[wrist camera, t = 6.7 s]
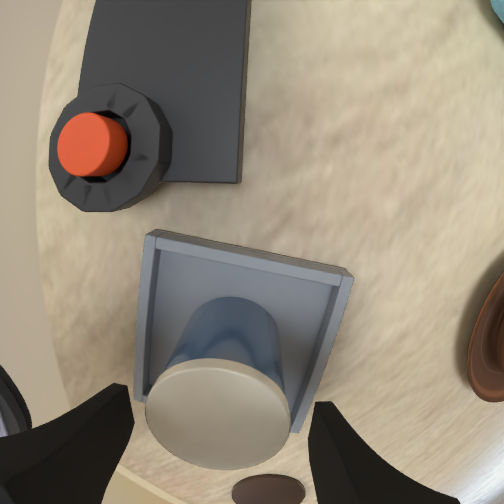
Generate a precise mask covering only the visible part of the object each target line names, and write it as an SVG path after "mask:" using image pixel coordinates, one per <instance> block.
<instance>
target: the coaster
mask: <svg viewBox="0 0 504 504" xmlns="http://www.w3.org/2000/svg"><path fill="white" fill-rule="evenodd" d="M304 497H305V489H304V486H303V485H302V484H301V483H300V482H299V481H297V480H295V479H293V478H290V477H287V476H282V475H258V476H253V477H249V478H246V479H244V480H242V481H240V482H238V483H237V484H236V485H235V486H234V487H233V490H232V499H233V501H234V502H235V503H236V504H300V503H301V502H302V501H303V499H304Z"/></svg>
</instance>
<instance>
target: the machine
mask: <svg viewBox="0 0 504 504" xmlns="http://www.w3.org/2000/svg"><path fill="white" fill-rule="evenodd" d="M250 14H251V0H96V2H95V6H94V10H93V14H92V18H91V22H90V26H89V31H88V36H87V40H86V45H85V51H84V56H83V62H82V68H81V74H80V81H79V88H78V96H77V97H76V98H75V99H74V100H72V101H71V102H70V103H69V104H67V105H66V107H65V108H64V109H63V111H62V113H61V115H60V117H59V119H58V121H57V123H56V125H55V127H54V129H53V131H52V133H51V136H50V145H49V170H50V172H51V175H52V177H53V180H54V182H55V184H56V187H57V189H58V191H59V193H60V194H61V196H62V197H63V198H65V199H66V200H67V201H69V202H70V203H72V204H73V205H74V206H76V207H77V208H79V209H80V210H81V211H84V212H114V211H118V210H122V209H126V208H130V207H131V206H133V205H135V204H136V203H138V202H139V201H141V200H143V199H144V198H146V197H148V196H149V195H151V194H153V192H154V191H155V190H156V189H157V187H158V185H159V183H160V182H194V183H230V184H237V183H241V182H242V160H243V139H244V120H245V100H246V82H247V64H248V47H249V30H250ZM85 112H91V113H95V114H98V115H101V116H104V117H107V118H110V119H112V120H115V121H117V122H118V123H119V124H120V125H121V126H122V127H123V128H124V130H125V132H126V135H127V140H128V148H127V153H126V156H125V158H124V160H123V162H122V163H121V165H120V166H119V167H118V168H117V169H116V170H115V171H114V172H112V173H110V174H108V175H105V176H83V177H81V176H74V175H72V174H70V173H68V172H67V171H66V170H65V169H64V168H63V166H62V165H61V163H60V161H59V157H58V151H57V146H58V140H59V136H60V134H61V131H62V130H63V128H64V126H65V125H66V124H67V123H68V121H69V120H71V119H72V118H73V117H75V116H77V115H79V114H81V113H85Z"/></svg>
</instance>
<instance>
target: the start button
mask: <svg viewBox="0 0 504 504" xmlns="http://www.w3.org/2000/svg"><path fill="white" fill-rule="evenodd" d="M127 148H128V140H127V135H126V132H125V130H124V128H123V127H122V126H121V125H120V124H119V123H118V122H117V121H115V120H112V119H110V118H107V117H104V116H101V115H98V114H95V113H91V112H85V113H81V114H79V115H77V116H75V117H73V118H72V119H71V120H69V121H68V123H67V124H66V125H65V126H64V128H63V130H62V131H61V134H60V136H59V140H58V146H57V151H58V157H59V161H60V163H61V165H62V166H63V168H64V169H65V170H66V171H67V172H68V173H70V174H72V175H74V176H81V177H83V176H105V175H108V174H110V173H112V172H114V171H115V170H116V169H117V168H118V167H119V166H120V165H121V163H122V162H123V160H124V158H125V156H126V153H127Z"/></svg>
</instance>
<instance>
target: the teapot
mask: <svg viewBox="0 0 504 504" xmlns="http://www.w3.org/2000/svg"><path fill="white" fill-rule="evenodd" d="M491 5H492V8H493V10H494V11H495V13H496V14H497V15H498V17H499V18H500V19H501V21H502V22H503V23H504V0H491Z"/></svg>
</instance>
